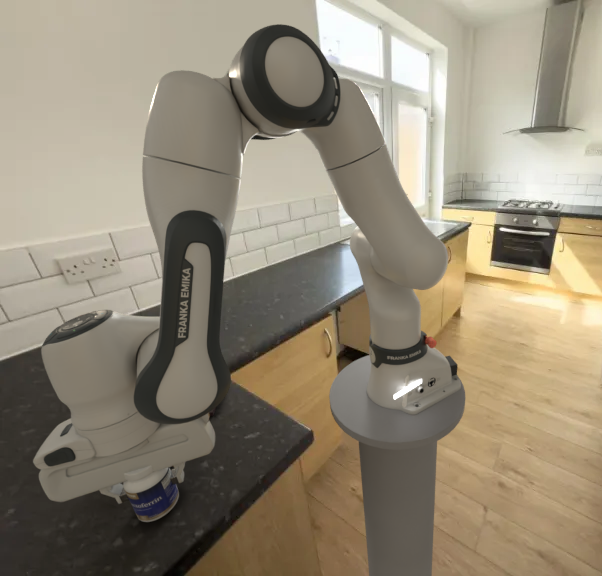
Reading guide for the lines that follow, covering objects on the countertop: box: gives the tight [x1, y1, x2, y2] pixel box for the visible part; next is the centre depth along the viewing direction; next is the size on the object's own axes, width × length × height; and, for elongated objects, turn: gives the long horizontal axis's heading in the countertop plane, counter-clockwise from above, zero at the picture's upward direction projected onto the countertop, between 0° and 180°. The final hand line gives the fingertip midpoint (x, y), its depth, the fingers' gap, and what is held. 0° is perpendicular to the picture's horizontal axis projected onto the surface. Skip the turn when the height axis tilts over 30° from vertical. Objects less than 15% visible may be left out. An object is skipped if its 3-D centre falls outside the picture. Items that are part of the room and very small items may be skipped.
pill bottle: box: [122, 466, 180, 523], centre depth 49 cm, size 6×6×10 cm
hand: (152, 489), depth 50 cm, fingers closed on pill bottle, 5 cm apart
